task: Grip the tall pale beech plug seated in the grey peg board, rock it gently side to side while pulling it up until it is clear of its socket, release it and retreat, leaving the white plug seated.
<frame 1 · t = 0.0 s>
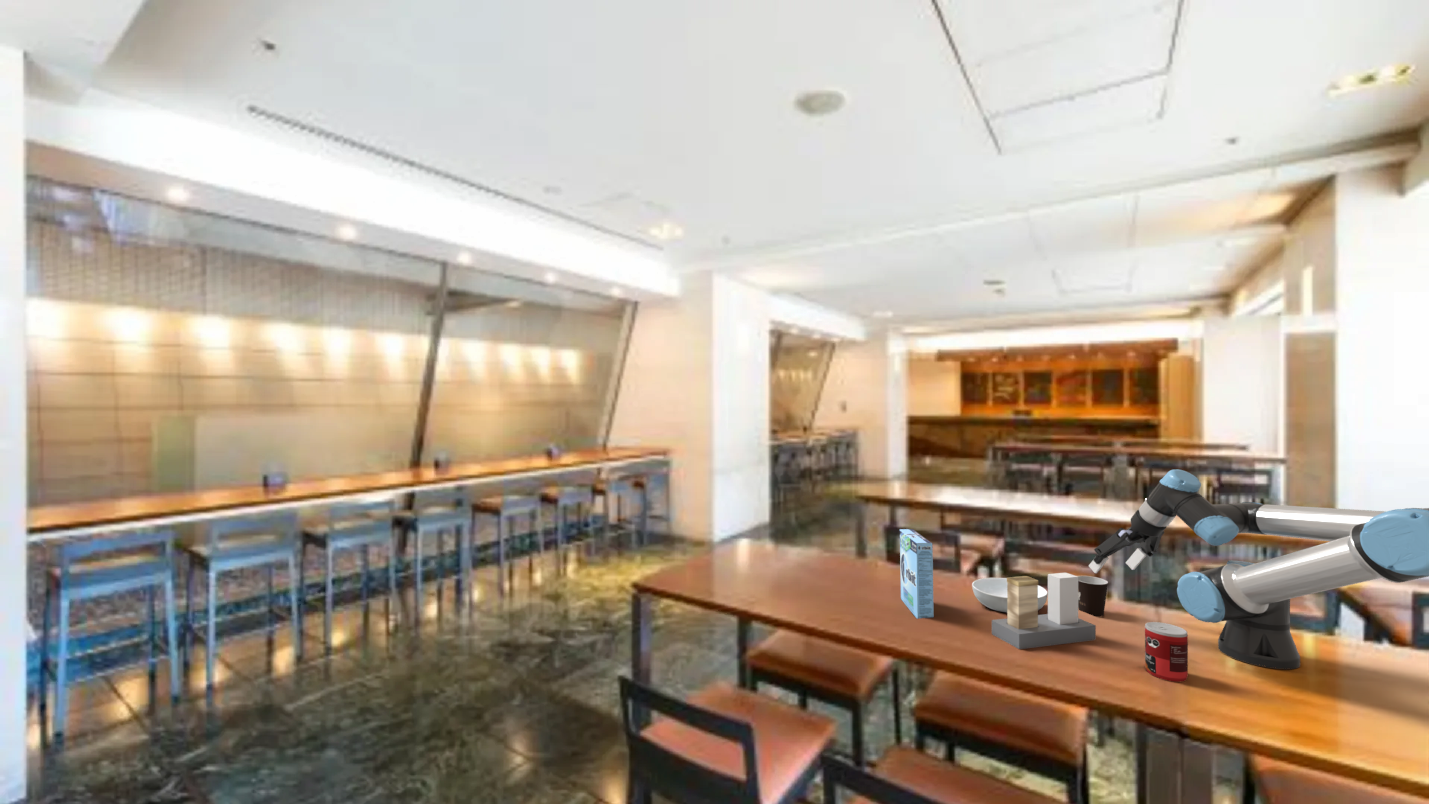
hand: (1111, 567, 172), 15 cm above the table, tool tilted 35°, fingers open, 13 cm apart
canned food: (1166, 675, 137), on the table
white plug: (1062, 604, 158), point 9 cm above the table, slide at 0.0 cm
serving bowl: (1008, 610, 181), on the table
grey peg board: (1043, 641, 156), on the table
beech plug: (1022, 609, 155), point 9 cm above the table, slide at 0.0 cm
coffee mug: (1091, 612, 179), on the table
gum box: (915, 609, 181), on the table
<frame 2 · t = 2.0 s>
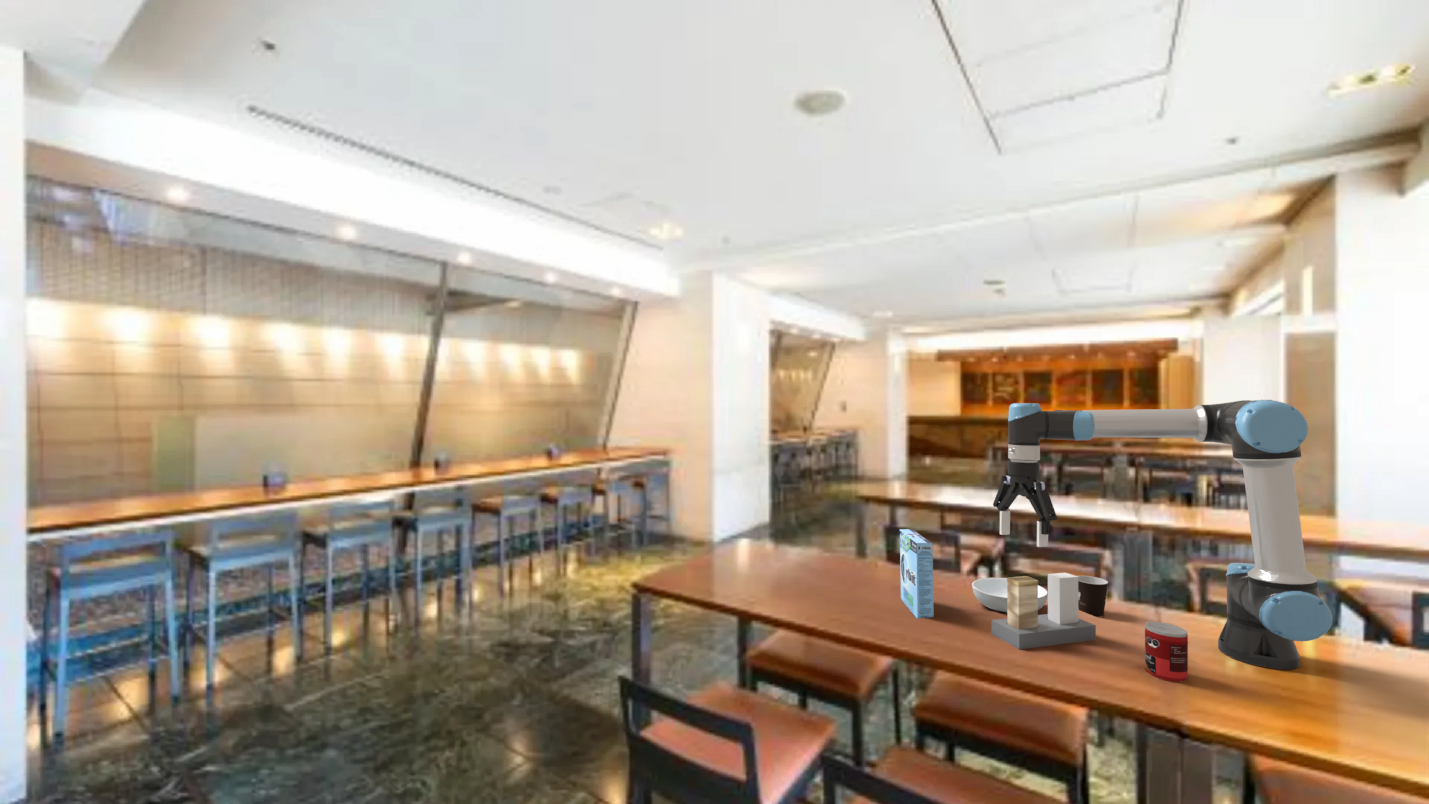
hand: (1022, 540, 155), 27 cm above the table, tool pointing down, fingers open, 13 cm apart
nothing on the table moved.
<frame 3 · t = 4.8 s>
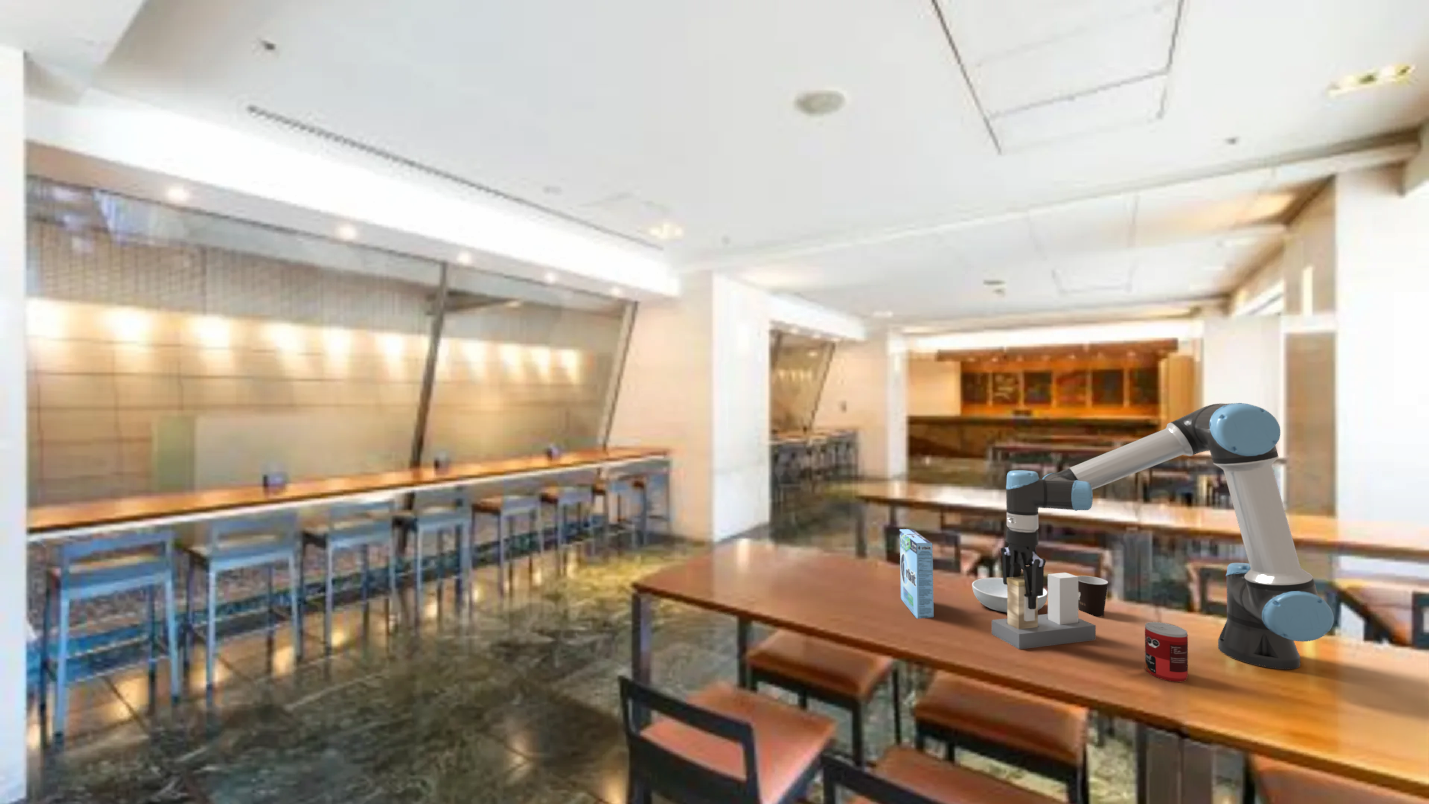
hand: (1022, 616, 155), 7 cm above the table, tool pointing down, fingers closed on beech plug, 4 cm apart
beech plug: (1022, 609, 155), point 9 cm above the table, slide at 0.0 cm, touching gripper
everything else where it was.
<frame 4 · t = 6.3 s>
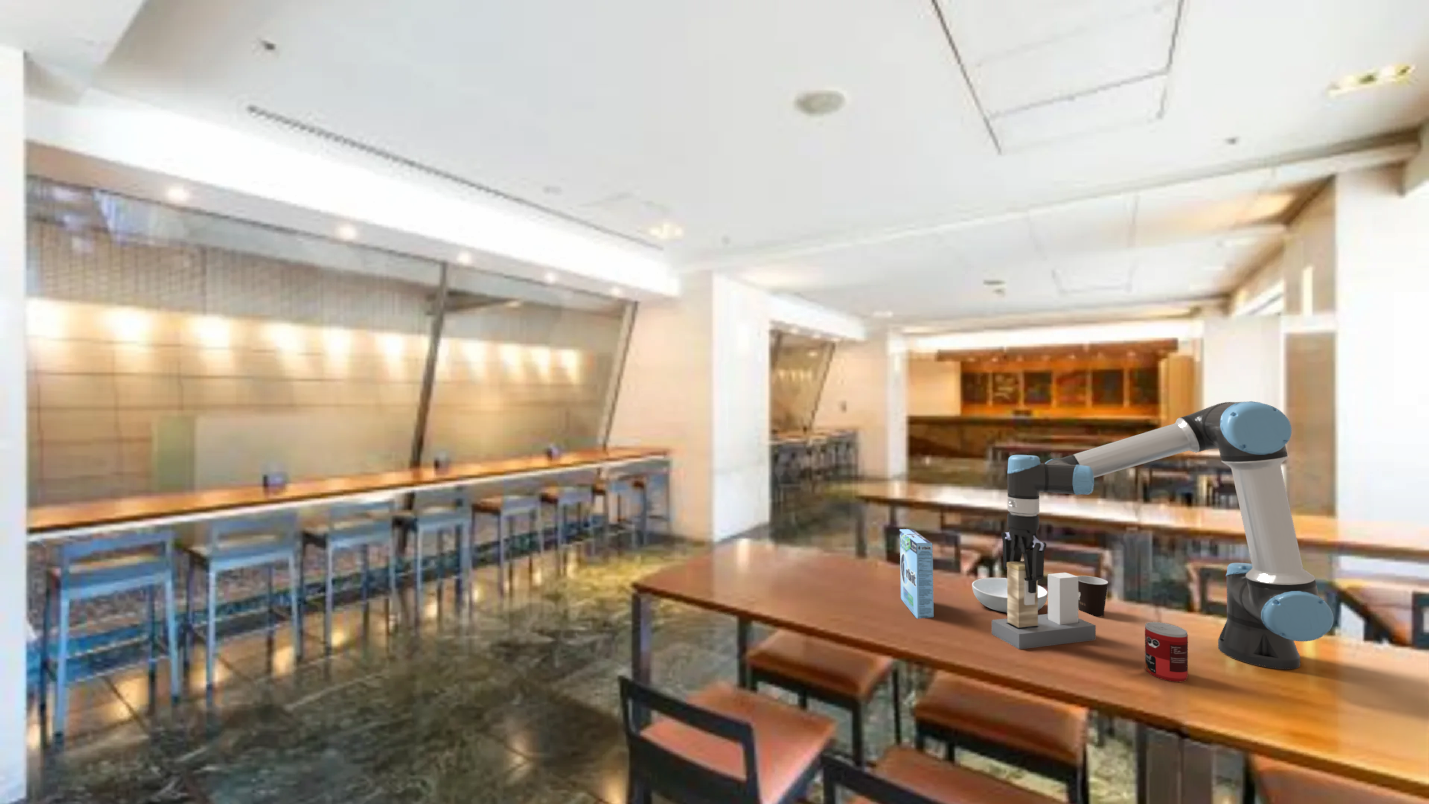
hand: (1022, 601, 155), 11 cm above the table, tool pointing down, fingers closed on beech plug, 4 cm apart
beech plug: (1022, 593, 155), point 13 cm above the table, slide at 4.2 cm, touching gripper
everything else where it was.
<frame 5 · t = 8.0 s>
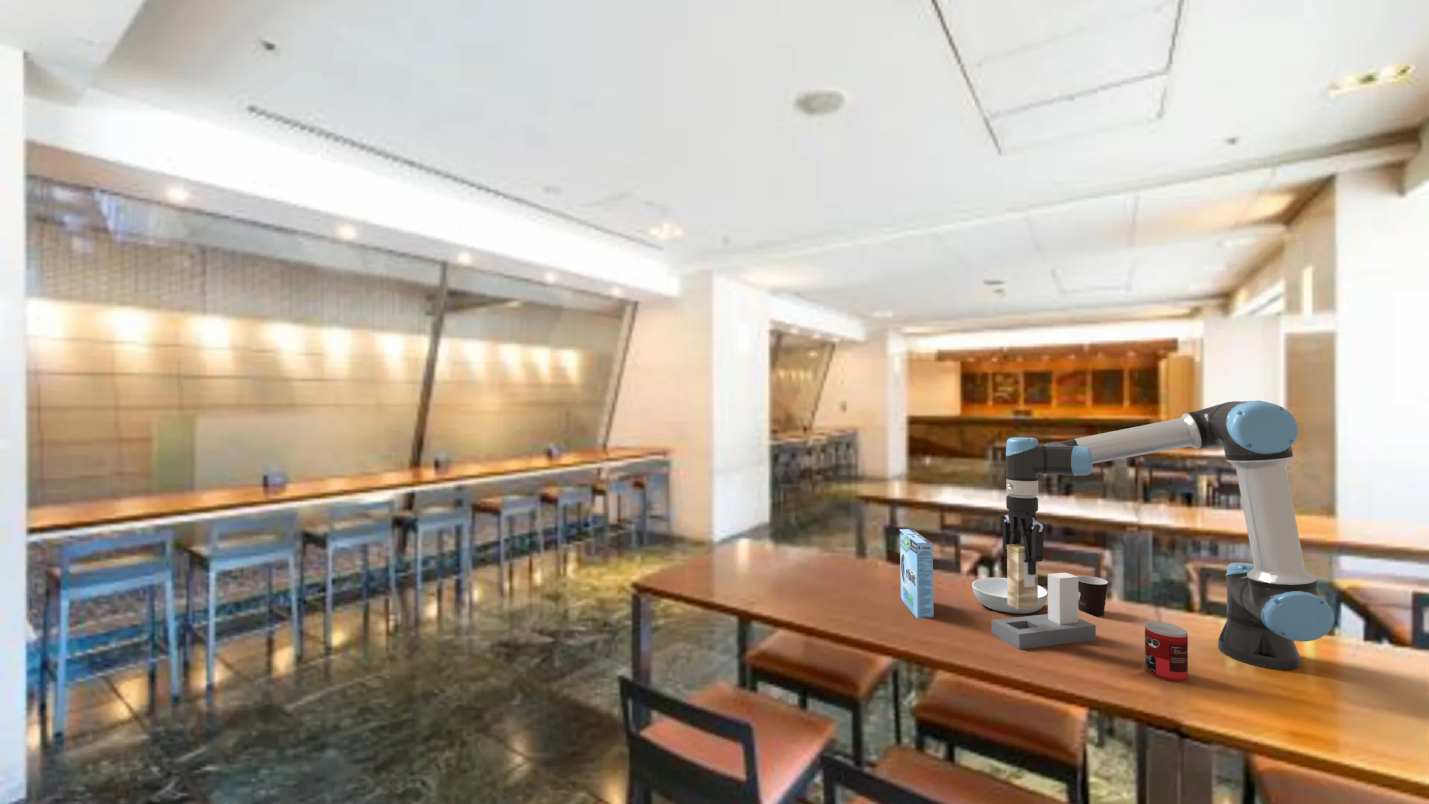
hand: (1022, 583, 155), 16 cm above the table, tool pointing down, fingers closed on beech plug, 4 cm apart
beech plug: (1022, 575, 155), point 18 cm above the table, slide at 8.9 cm, touching gripper
everything else where it was.
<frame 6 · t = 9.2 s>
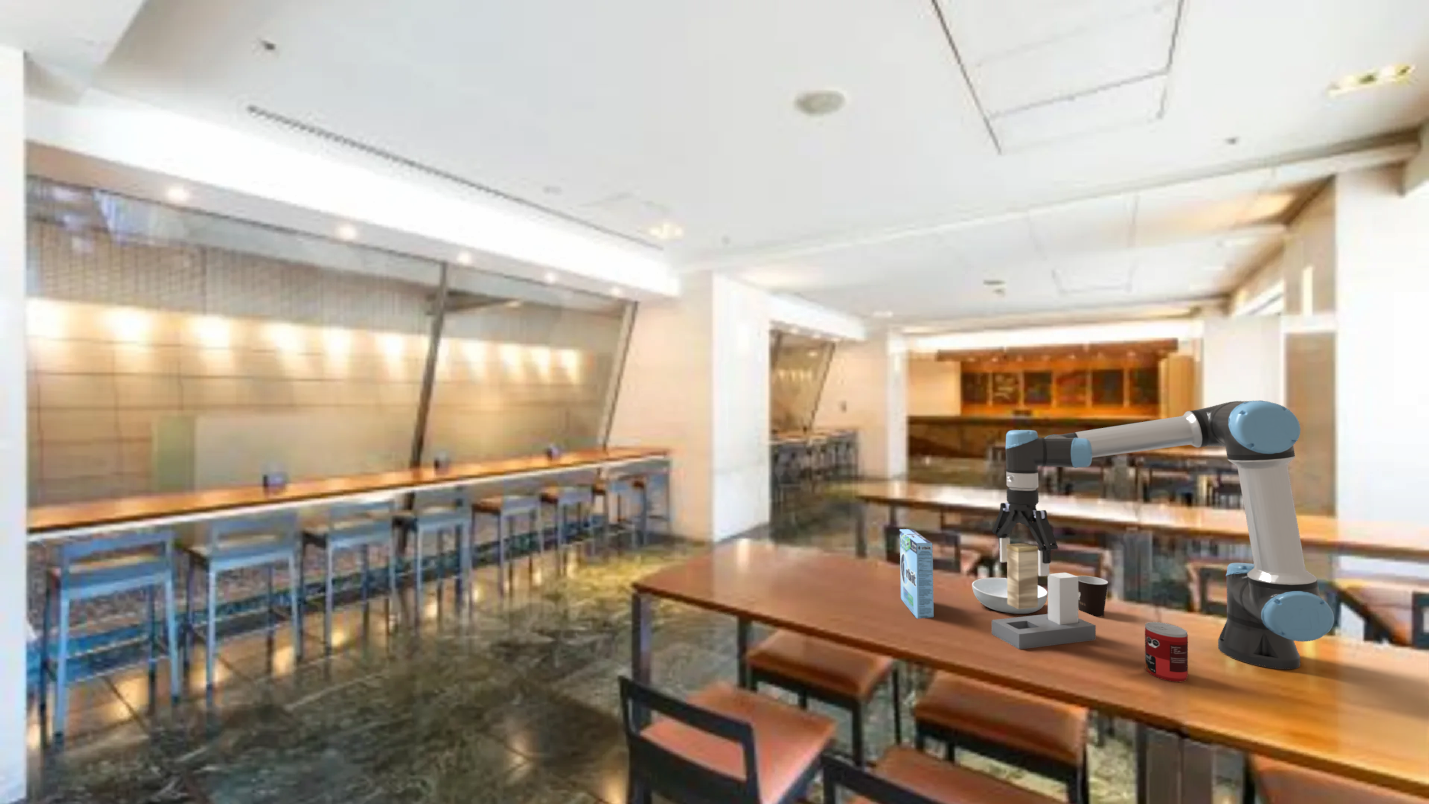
hand: (1023, 568, 155), 20 cm above the table, tool pointing down, fingers open, 13 cm apart
beech plug: (1022, 575, 155), point 18 cm above the table, slide at 8.9 cm
everything else where it was.
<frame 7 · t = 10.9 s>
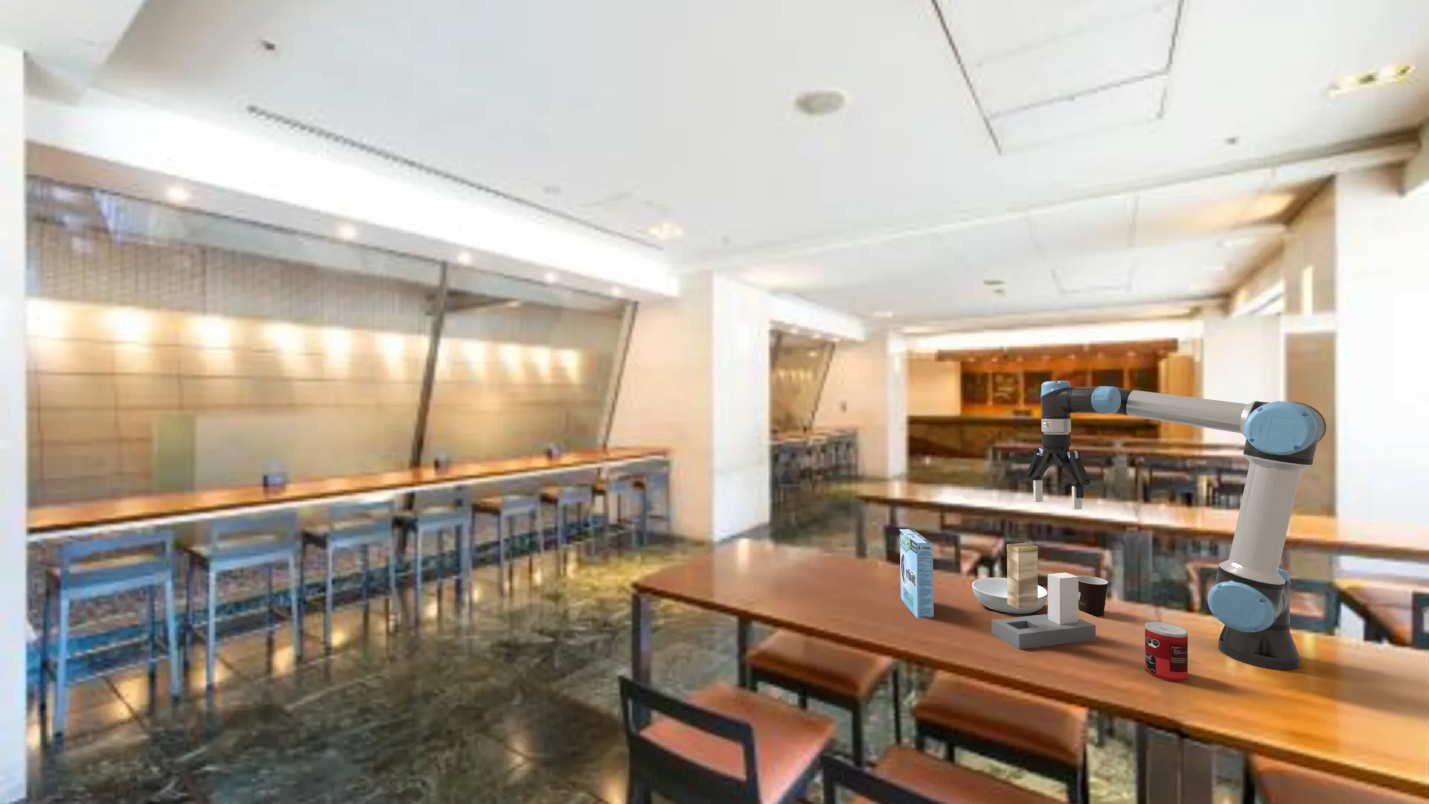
hand: (1056, 505, 172), 34 cm above the table, tool pointing down, fingers open, 13 cm apart
nothing on the table moved.
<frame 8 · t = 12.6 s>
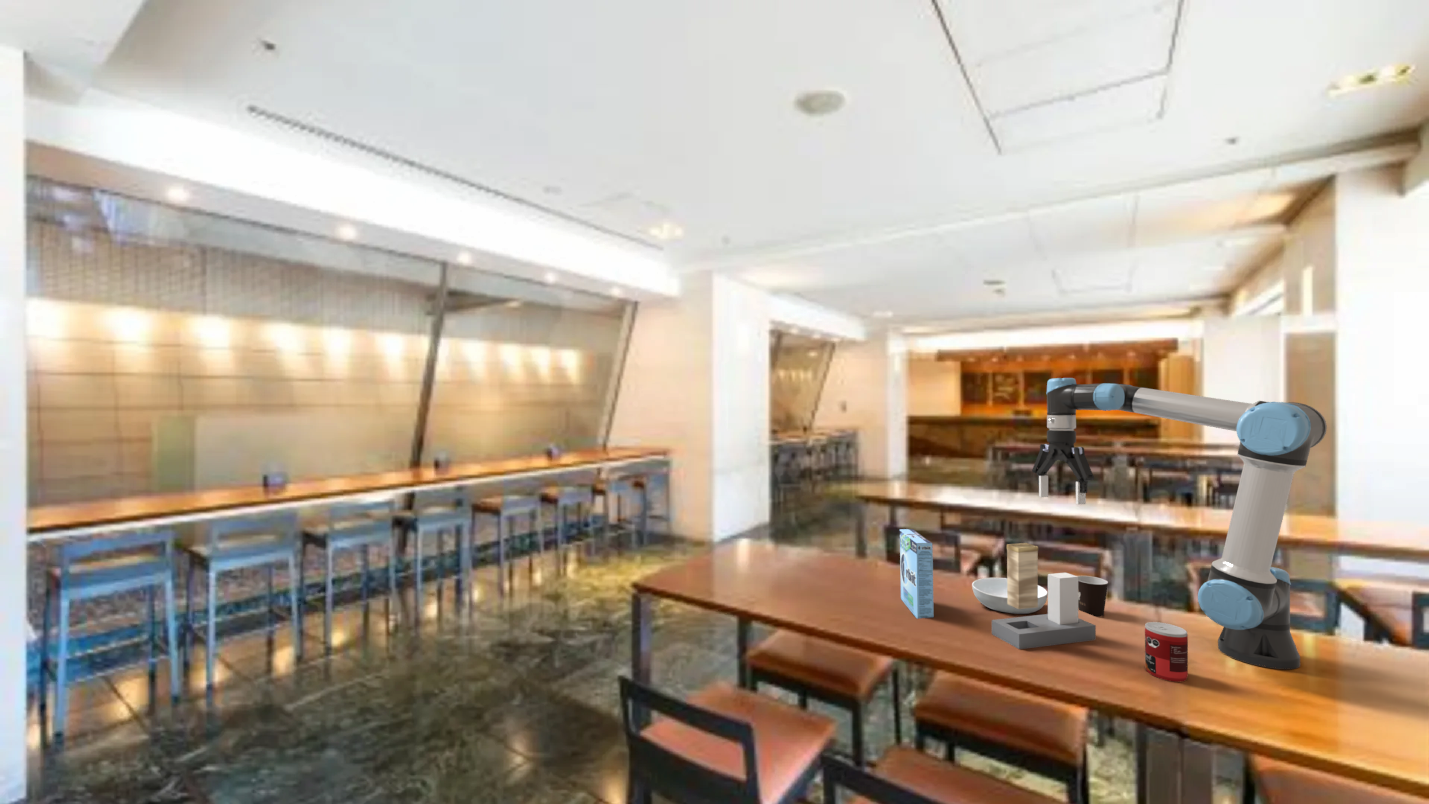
hand: (1061, 500, 175), 35 cm above the table, tool pointing down, fingers open, 13 cm apart
nothing on the table moved.
at the end: beech plug slide at 8.9 cm; white plug slide at 0.0 cm; the gripper is holding nothing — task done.
